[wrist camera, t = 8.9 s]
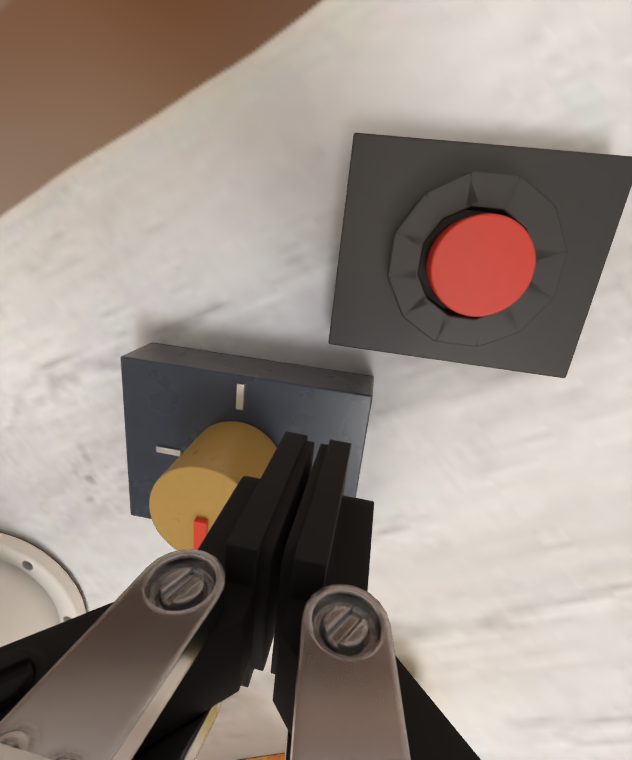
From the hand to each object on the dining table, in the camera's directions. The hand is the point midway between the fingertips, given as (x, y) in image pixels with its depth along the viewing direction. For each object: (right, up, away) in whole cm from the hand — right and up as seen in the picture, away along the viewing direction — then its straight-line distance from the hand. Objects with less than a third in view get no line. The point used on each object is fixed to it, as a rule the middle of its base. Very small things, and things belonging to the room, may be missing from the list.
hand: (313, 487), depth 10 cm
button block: (+7, +8, +9) cm, 14 cm away
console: (-4, -1, +14) cm, 15 cm away
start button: (+6, +7, +6) cm, 11 cm away
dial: (-4, -2, +11) cm, 12 cm away
